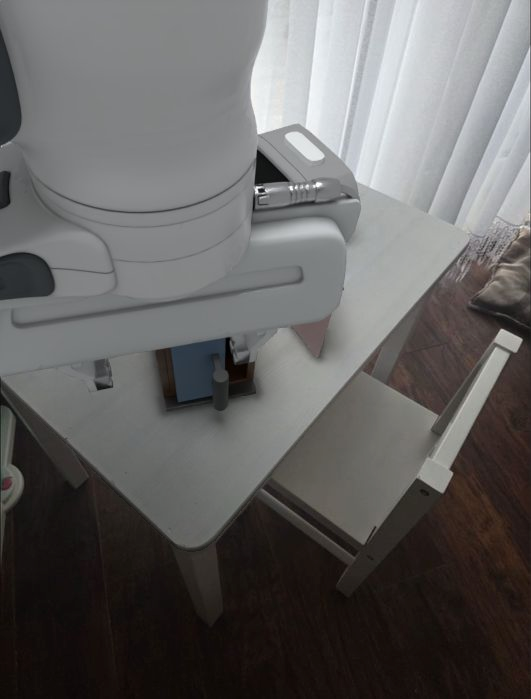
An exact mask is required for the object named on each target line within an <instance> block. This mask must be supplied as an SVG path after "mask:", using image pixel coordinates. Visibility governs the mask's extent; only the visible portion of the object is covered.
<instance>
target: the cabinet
mask: <svg viewBox="0 0 531 699" xmlns="http://www.w3.org/2000/svg"><path fill="white" fill-rule="evenodd" d="M154 352H155V358H156V363H157V369H158V374H159V380H160V385H161V391H162V396H163V402H164V407H165V411H166V412H171V411H174V410H180V409H185V408H190V407H194V406H195V407H196V406H201V405H205V404H209V403H213V396H208V397H203V398H198V399H193V400H188V401H183V402H178V399H177V393H176V386H175V379H174V371H173V364H172V357H171V349H170V347H169V348H164V349H158V350H154ZM255 367H256V361H254V362H248V363H242V364H236V365H235V364H234V361H233V355H232V354H231V350H230V337H226V338H225V370H226V371H227V372H228V374H229V386H228V400H230V399H235V398H239V397H240V398H241V397H245V396H249V395H253V394H257V390H258V389H257V388H256V384H255V381H254V375H255V370H256V368H255Z"/></svg>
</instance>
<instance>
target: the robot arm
mask: <svg viewBox="0 0 531 699" xmlns="http://www.w3.org/2000/svg"><path fill="white" fill-rule="evenodd" d="M268 11H269V0H0V378H5V377H10V376H15V375H20V374H26V373H33V372H37V371H44V370H48V369H49V370H50V369H55V368H56V370H57V372H58V373H61V374H64V375H67V376H69V377H71V378H73V379H77V380H79V381H81V382H84V383H85V385H86V388H87V390H88V392H89V393H94V392H98V391H103V390H109V389H113V388H114V381H113V373H112V368H111V363H110V361H109V359H111V358H117V357H123V356H128V355H134V354H135V355H136V354H140V353H146V352H151V351H155V350H158V349H164V348H169V347H175V346H181V345H186V344H192V343H198V342H203V341H209V340H215V339H220V338H226V337H230V350H231V354H232V355H233V361H234V364H235V365H236V364H242V363H248V362H254V361H255V362H256V361H257V360H258V359H257V358H258V351H259V350H260V349H261V348H262V347H263V346H264V345H266V344H267V343H268V342H269V341H270V340H271V339H272V338H273V337H274V336H275V335H277V333H278V329H283V328H288V327H292V326H295V325H300V324H306V323H312V322H318V321H321V320H324V319H325V318H327V317H328V316H329V315H330V314H331V313H332V314H333V313H334V312H335V311H336V310H337V309H338V308H339V306H340V304H341V300H342V296H343V291H344V290H343V286H345V280H346V271H347V255H348V254H347V250H348V249H347V242H348V241H350V240H351V238H352V237H353V235H354V234H355V231H356V228H357V226H358V222H359V219H360V215H361V211H362V204H361V203H362V201H361V196H360V195H358V193H357V192H356V191H355V190H354V189H353V188H352V187H350V186H347V185H343V184H341V183H340V181H339V179H337V178H330V177H322V178H316V179H312V180H311V181H305V182H276V183H266V184H257V185H254V182H255V169H256V153H257V142H258V135H259V134H258V126H257V119H256V115H255V111H254V107H253V102H252V86H251V85H252V76H253V71H254V67H255V63H256V60H257V58H258V55H259V52H260V50H261V46H262V43H263V40H264V36H265V33H266V29H267V22H268ZM7 143H8V144H7Z"/></svg>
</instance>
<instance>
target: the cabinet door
mask: <svg viewBox="0 0 531 699" xmlns="http://www.w3.org/2000/svg"><path fill="white" fill-rule="evenodd" d="M170 349H171V357H172V364H173V371H174V379H175V386H176V393H177V399H178V402H183V401H188V400H193V399H198V398H203V397H208V396H213V402H212V407H213V409H214V410H215V411H216V412H224V411H226V409H228V406H229V399H228V386H229V374H228V372H227V371H226V370H225V338H220V339H215V340H209V341H203V342H198V343H192V344H186V345H181V346H175V347H170Z"/></svg>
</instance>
